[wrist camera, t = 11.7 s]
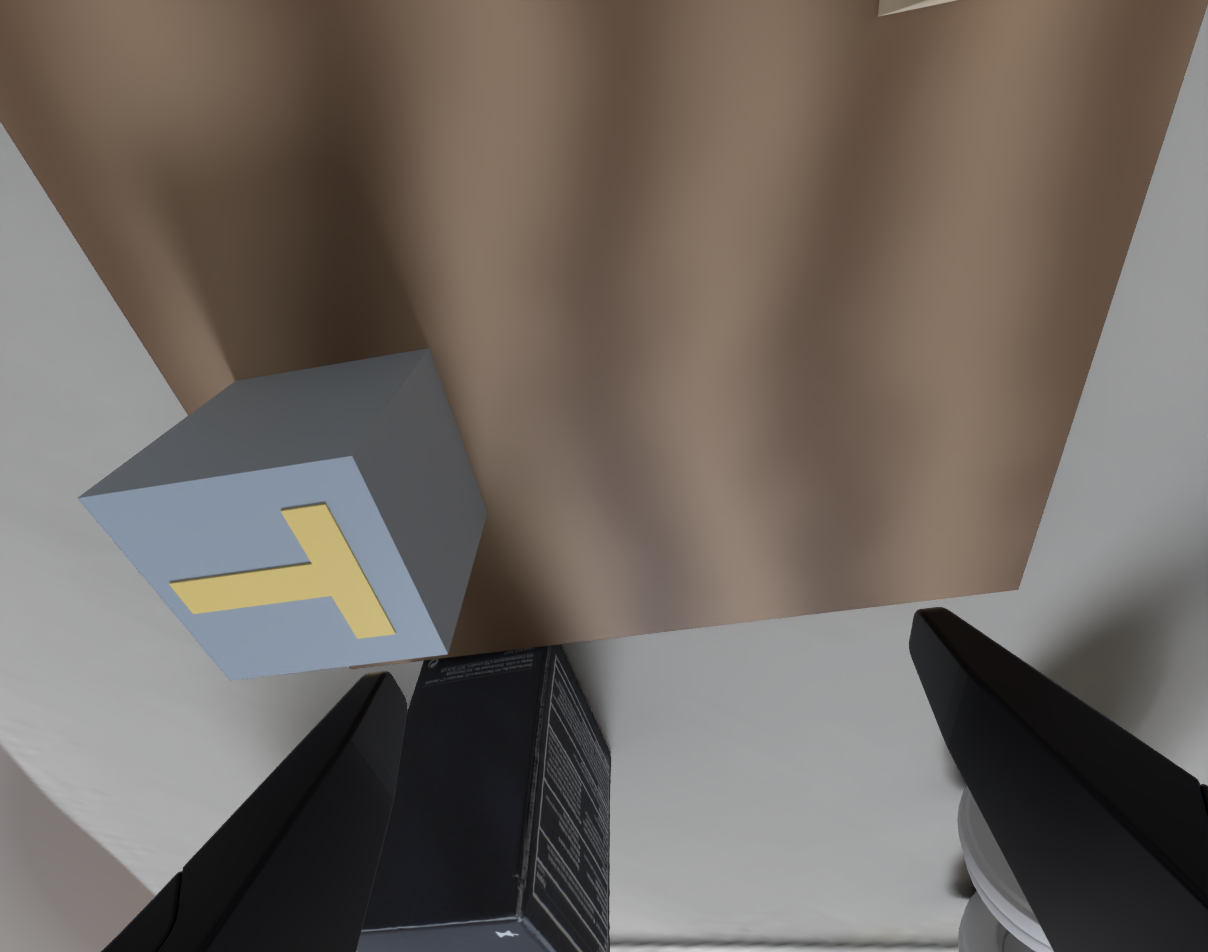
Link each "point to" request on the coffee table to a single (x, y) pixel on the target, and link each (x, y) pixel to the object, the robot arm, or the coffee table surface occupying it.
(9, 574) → the coffee table surface
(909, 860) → the coffee table surface
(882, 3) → the birch cube
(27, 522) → the coffee table surface
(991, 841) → the headphones
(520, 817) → the small box
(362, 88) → the walnut board
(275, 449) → the slate cube
